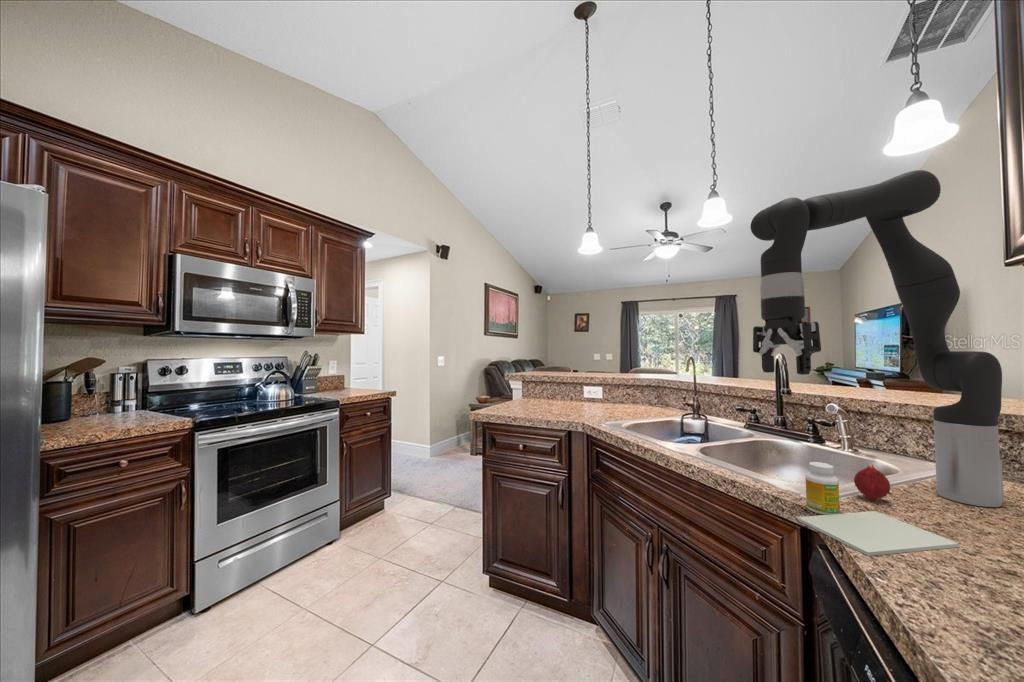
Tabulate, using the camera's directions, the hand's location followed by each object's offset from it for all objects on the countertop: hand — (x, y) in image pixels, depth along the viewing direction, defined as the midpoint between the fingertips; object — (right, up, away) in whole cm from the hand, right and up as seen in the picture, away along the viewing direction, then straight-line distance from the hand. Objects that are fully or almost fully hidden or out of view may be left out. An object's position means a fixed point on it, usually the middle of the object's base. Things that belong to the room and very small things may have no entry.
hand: (785, 373), depth 78 cm
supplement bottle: (+8, -29, 0) cm, 31 cm away
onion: (+24, -29, +5) cm, 38 cm away
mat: (+9, -29, -9) cm, 32 cm away
